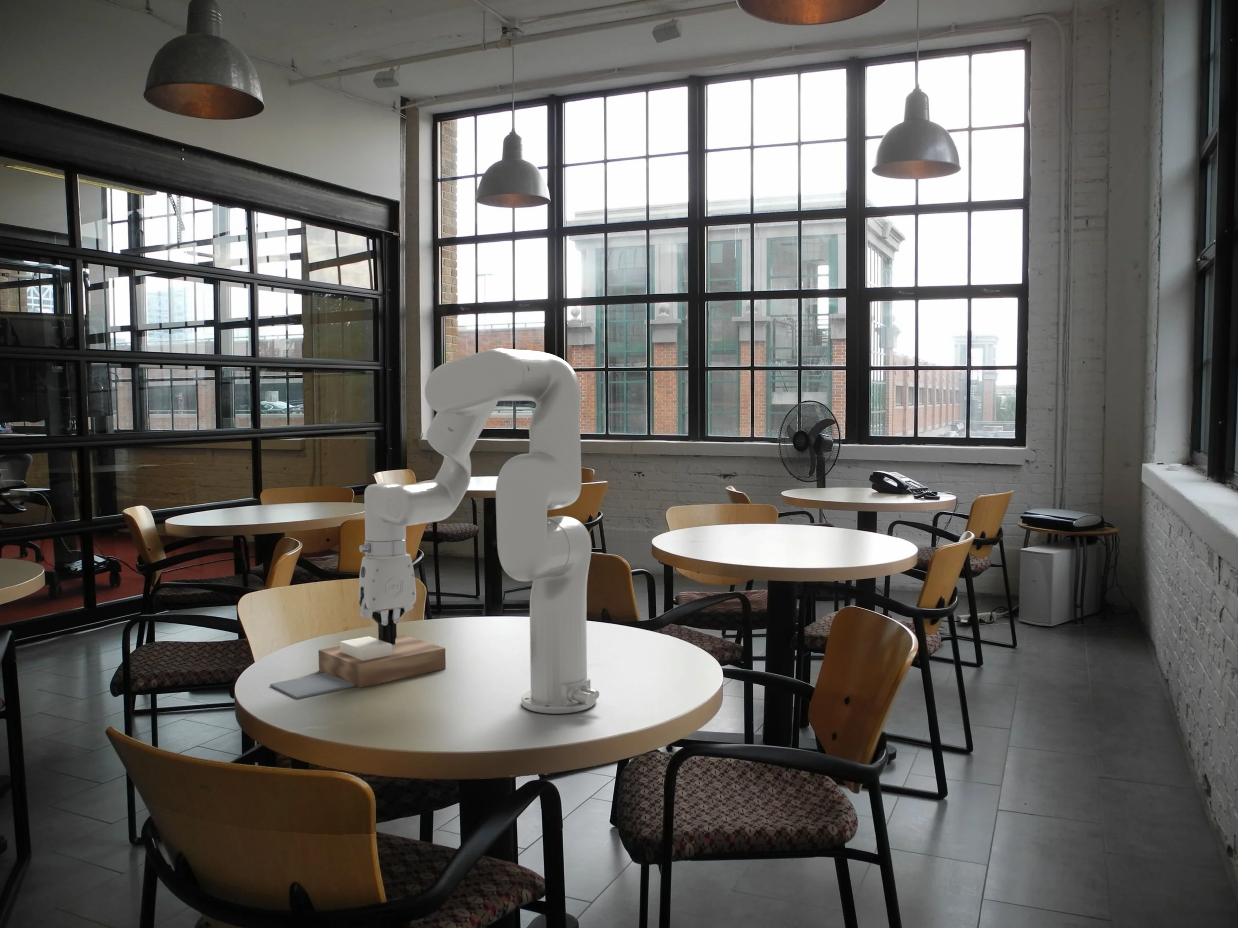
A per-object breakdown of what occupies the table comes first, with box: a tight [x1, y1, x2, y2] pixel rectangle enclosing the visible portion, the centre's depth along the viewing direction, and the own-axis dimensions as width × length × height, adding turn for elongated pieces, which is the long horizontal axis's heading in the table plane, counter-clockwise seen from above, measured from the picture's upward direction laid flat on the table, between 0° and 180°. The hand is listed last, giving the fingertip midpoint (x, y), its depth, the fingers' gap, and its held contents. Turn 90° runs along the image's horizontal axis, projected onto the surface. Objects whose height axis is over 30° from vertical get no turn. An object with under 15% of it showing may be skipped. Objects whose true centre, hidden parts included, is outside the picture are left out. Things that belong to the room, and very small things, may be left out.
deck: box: [318, 634, 447, 689], centre depth 180 cm, size 16×18×4 cm
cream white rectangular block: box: [339, 635, 393, 661], centre depth 177 cm, size 9×6×2 cm, turn 43°
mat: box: [269, 672, 356, 700], centre depth 169 cm, size 11×11×1 cm
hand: (387, 643), depth 180 cm, fingers closed
